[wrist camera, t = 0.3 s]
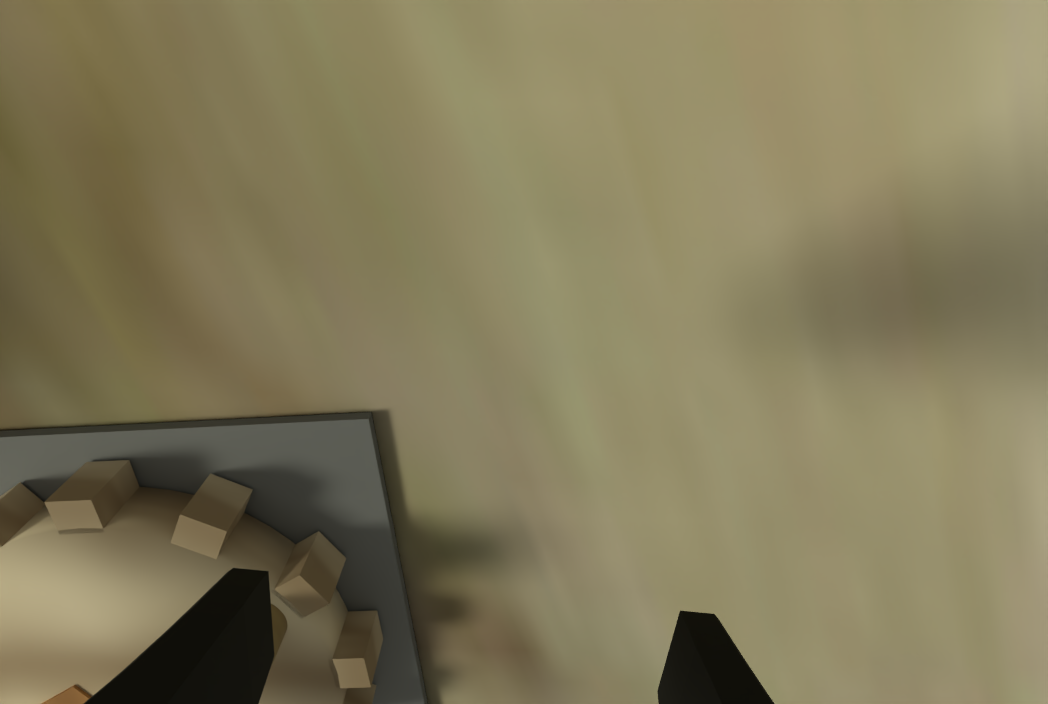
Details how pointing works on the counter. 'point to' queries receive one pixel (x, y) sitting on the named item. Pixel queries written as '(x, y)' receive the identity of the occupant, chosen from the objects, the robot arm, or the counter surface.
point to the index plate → (263, 498)
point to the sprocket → (162, 588)
